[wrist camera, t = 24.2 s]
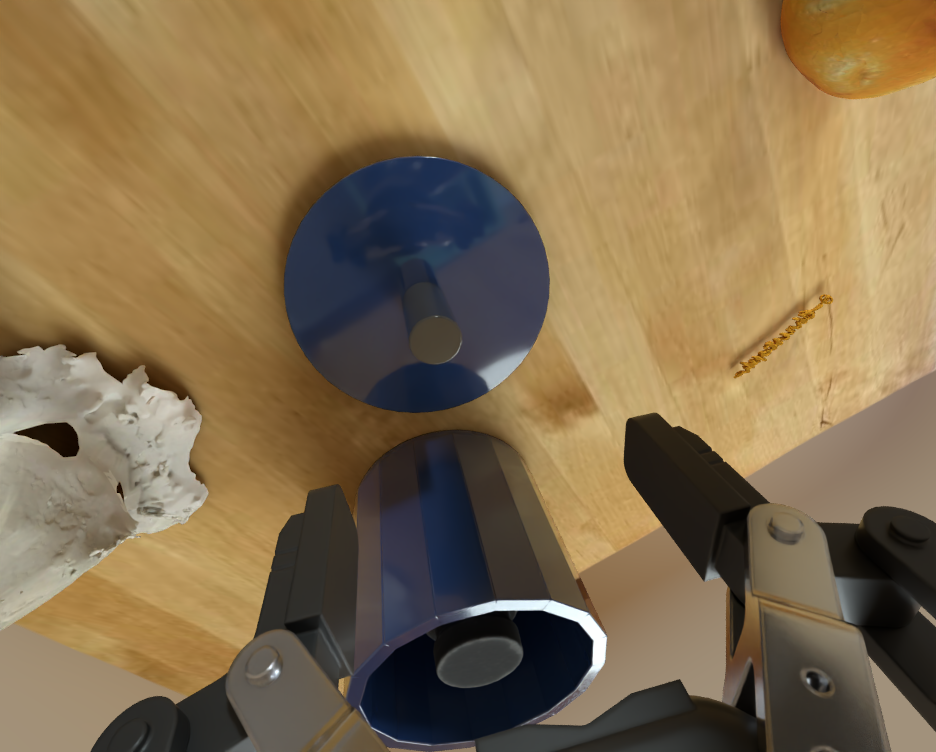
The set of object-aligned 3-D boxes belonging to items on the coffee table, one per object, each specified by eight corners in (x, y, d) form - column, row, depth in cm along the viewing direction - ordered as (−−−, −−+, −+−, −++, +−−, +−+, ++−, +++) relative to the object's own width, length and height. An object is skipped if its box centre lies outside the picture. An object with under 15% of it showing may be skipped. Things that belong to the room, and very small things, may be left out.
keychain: (835, 303, 29) (821, 294, 30) (837, 297, 29) (822, 288, 29) (740, 384, 31) (728, 374, 32) (739, 380, 30) (727, 371, 31)
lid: (538, 135, 22) (592, 137, 16) (546, 379, 29) (585, 433, 24) (244, 178, 20) (199, 194, 15) (330, 423, 27) (320, 492, 22)
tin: (526, 412, 30) (613, 569, 19) (534, 539, 36) (601, 709, 26) (332, 453, 28) (308, 648, 18) (377, 578, 35) (379, 774, 24)
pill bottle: (500, 479, 32) (554, 626, 22) (477, 538, 34) (517, 692, 25) (417, 472, 30) (438, 629, 20) (400, 535, 32) (411, 700, 23)
